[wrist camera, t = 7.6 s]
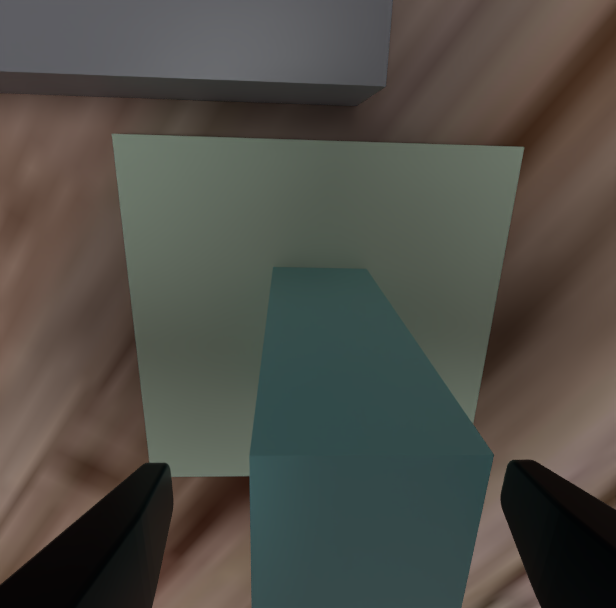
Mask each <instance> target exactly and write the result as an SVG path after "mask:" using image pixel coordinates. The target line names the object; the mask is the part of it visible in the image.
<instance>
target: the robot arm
mask: <svg viewBox="0 0 616 608" xmlns="http://www.w3.org/2000/svg"><path fill="white" fill-rule="evenodd" d="M501 506H502V509H503V512H504V515H505V518H506V520H507V523H508V525H509V528H510V531H511V533H512V536H513V539H514V541H515V544H516V546H517V549H518V552H519V554H520V557H521V560H522V562H523V565H524V567H525V570H526V573H527V575H528V578H529V580H530V583H531V585H532V588H533V590H534V593H535V595H536V597H537V599H538V602H539V604H540V606H541V608H616V510H615V509H614V508H612V507H610V506H609V505H607V504H605V503H604V502H602V501H600V500H599V499H597V498H595V497H594V496H592V495H590V494H589V493H587V492H585V491H584V490H582V489H581V488H579V487H577V486H576V485H574V484H572V483H571V482H569V481H567V480H566V479H564V478H562V477H561V476H559V475H557V474H556V473H554V472H552V471H551V470H549V469H547V468H546V467H544V466H542V465H541V464H539V463H537V462H536V461H533V460H512V461H510V462H509V463H508V465H507V468H506V473H505V477H504V482H503V486H502V490H501ZM172 512H173V490H172V480H171V470H170V466H169V465H168V464H167V463H165V462H163V463H145V464H143V465H142V466H140V467H139V468H138V469H137V470H136V471H135V472H133V473H132V474H131V475H130V476H129V477H127V478H126V479H125V480H124V481H123V482H121V483H120V484H119V485H118V486H117V487H116V488H114V489H113V490H112V491H111V492H110V493H108V494H107V495H106V496H105V497H104V498H103V499H101V500H100V501H99V502H98V503H97V504H95V505H94V506H93V507H92V508H91V509H89V510H88V511H87V512H86V513H85V514H84V515H82V516H81V517H80V518H79V519H78V520H76V521H75V522H74V523H73V524H72V525H70V526H69V527H68V528H67V529H66V530H65V531H63V532H62V533H61V534H60V535H59V536H57V537H56V538H55V539H54V540H53V541H51V542H50V543H49V544H48V545H47V546H46V547H44V548H43V549H42V550H41V551H40V552H38V553H37V554H36V555H35V556H34V557H32V558H31V559H30V560H29V561H28V562H27V563H25V564H24V565H23V566H22V567H21V568H19V569H18V570H17V571H16V572H15V573H13V574H12V575H11V576H10V577H9V578H8V579H6V580H5V581H4V582H3V583H2V584H0V608H152V605H153V601H154V597H155V592H156V588H157V583H158V579H159V574H160V569H161V564H162V560H163V555H164V550H165V545H166V541H167V536H168V531H169V526H170V522H171V517H172Z"/></svg>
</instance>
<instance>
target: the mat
mask: <svg viewBox="0 0 616 608" xmlns="http://www.w3.org/2000/svg"><path fill="white" fill-rule="evenodd" d="M112 141H113V149H114V158H115V167H116V175H117V184H118V193H119V201H120V210H121V219H122V228H123V236H124V245H125V254H126V262H127V271H128V280H129V288H130V297H131V306H132V314H133V323H134V332H135V340H136V349H137V358H138V367H139V375H140V384H141V393H142V401H143V410H144V419H145V427H146V436H147V445H148V453H149V462H150V463H163V462H165V463H167V464H168V465H169V466H170V470H171V477H204V476H250V467H249V454H250V446H251V438H252V430H253V422H254V414H255V406H256V398H257V391H258V383H259V375H260V367H261V359H262V351H263V343H264V335H265V327H266V319H267V311H268V303H269V295H270V287H271V279H272V271H273V267H302V268H352V269H367V270H368V272H369V273H370V275H371V276H372V277H373V279H374V280H375V282H376V283H377V285H378V286H379V288H380V289H381V291H382V292H383V294H384V295H385V296H386V298H387V299H388V301H389V302H390V304H391V305H392V307H393V308H394V310H395V311H396V313H397V314H398V315H399V317H400V318H401V320H402V321H403V323H404V324H405V326H406V327H407V329H408V330H409V332H410V333H411V334H412V336H413V337H414V339H415V340H416V342H417V343H418V345H419V346H420V348H421V349H422V350H423V352H424V353H425V355H426V356H427V358H428V359H429V361H430V362H431V364H432V365H433V367H434V368H435V369H436V371H437V372H438V374H439V375H440V377H441V378H442V380H443V381H444V383H445V384H446V386H447V387H448V388H449V390H450V391H451V393H452V394H453V396H454V397H455V399H456V400H457V402H458V403H459V405H460V406H461V407H462V409H463V410H464V412H465V413H466V415H467V416H468V418H469V419H470V421H471V422H472V423H473V422H474V417H475V411H476V406H477V401H478V395H479V390H480V384H481V379H482V373H483V368H484V363H485V357H486V352H487V346H488V341H489V336H490V330H491V325H492V319H493V314H494V308H495V303H496V298H497V292H498V287H499V281H500V276H501V271H502V265H503V260H504V254H505V249H506V243H507V238H508V233H509V227H510V222H511V216H512V211H513V206H514V200H515V195H516V189H517V184H518V178H519V173H520V168H521V162H522V157H523V151H524V147H510V146H479V145H448V144H417V143H385V142H354V141H323V140H292V139H261V138H229V137H198V136H167V135H136V134H112Z"/></svg>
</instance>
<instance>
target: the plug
mask: <svg viewBox="0 0 616 608" xmlns="http://www.w3.org/2000/svg"><path fill="white" fill-rule="evenodd" d="M493 457H494V454H493V453H492V451H491V450H490V448H489V447H488V445H487V444H486V442H485V441H484V440H483V438H482V437H481V435H480V434H479V432H478V431H477V429H476V428H475V426H474V425H473V423H472V422H471V421H470V419H469V418H468V416H467V415H466V413H465V412H464V410H463V409H462V407H461V406H460V405H459V403H458V402H457V400H456V399H455V397H454V396H453V394H452V393H451V391H450V390H449V388H448V387H447V386H446V384H445V383H444V381H443V380H442V378H441V377H440V375H439V374H438V372H437V371H436V369H435V368H434V367H433V365H432V364H431V362H430V361H429V359H428V358H427V356H426V355H425V353H424V352H423V350H422V349H421V348H420V346H419V345H418V343H417V342H416V340H415V339H414V337H413V336H412V334H411V333H410V332H409V330H408V329H407V327H406V326H405V324H404V323H403V321H402V320H401V318H400V317H399V315H398V314H397V313H396V311H395V310H394V308H393V307H392V305H391V304H390V302H389V301H388V299H387V298H386V296H385V295H384V294H383V292H382V291H381V289H380V288H379V286H378V285H377V283H376V282H375V280H374V279H373V277H372V276H371V275H370V273H369V272H368V270H367V269H352V268H302V267H273V271H272V279H271V287H270V295H269V303H268V311H267V319H266V327H265V335H264V343H263V351H262V359H261V367H260V375H259V383H258V391H257V398H256V406H255V414H254V422H253V430H252V438H251V446H250V454H249V467H250V531H251V595H252V608H461V607H462V602H463V597H464V593H465V588H466V583H467V579H468V574H469V569H470V565H471V560H472V555H473V551H474V546H475V541H476V537H477V532H478V527H479V523H480V518H481V513H482V509H483V504H484V499H485V495H486V490H487V485H488V481H489V476H490V471H491V467H492V462H493Z"/></svg>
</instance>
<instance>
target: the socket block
mask: <svg viewBox="0 0 616 608" xmlns="http://www.w3.org/2000/svg"><path fill="white" fill-rule="evenodd" d="M392 4H393V0H0V93H11V94H39V95H66V96H94V97H121V98H149V99H176V100H203V101H231V102H258V103H286V104H313V105H341V106H357V105H359V104H360V103H362V102H363V101H365V100H366V99H368V98H369V97H371V96H372V95H374V94H375V93H377V92H378V91H380V90H381V89H383V88H384V87H386V79H387V66H388V54H389V41H390V29H391V16H392Z"/></svg>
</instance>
